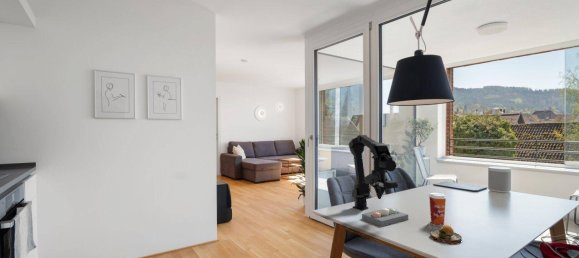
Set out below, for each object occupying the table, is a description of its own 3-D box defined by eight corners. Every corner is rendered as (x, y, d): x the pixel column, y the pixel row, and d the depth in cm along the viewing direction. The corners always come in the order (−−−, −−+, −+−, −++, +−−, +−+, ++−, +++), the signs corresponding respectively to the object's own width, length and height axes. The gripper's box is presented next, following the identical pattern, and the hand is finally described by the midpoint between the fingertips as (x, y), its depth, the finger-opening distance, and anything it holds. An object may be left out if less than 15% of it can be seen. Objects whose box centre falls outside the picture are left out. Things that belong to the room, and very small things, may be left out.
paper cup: (437, 226, 133) (436, 196, 133) (425, 221, 141) (425, 192, 141) (450, 224, 135) (450, 195, 135) (438, 219, 143) (438, 191, 143)
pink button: (370, 219, 142) (370, 212, 142) (376, 218, 144) (376, 211, 144) (376, 222, 138) (376, 215, 138) (382, 220, 140) (382, 213, 140)
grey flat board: (362, 218, 145) (361, 213, 145) (387, 212, 154) (387, 208, 154) (381, 226, 134) (381, 221, 134) (408, 219, 143) (408, 214, 143)
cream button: (379, 215, 145) (379, 208, 145) (384, 214, 147) (384, 207, 147) (385, 217, 141) (385, 210, 141) (390, 216, 143) (390, 209, 143)
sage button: (387, 215, 148) (387, 209, 148) (392, 214, 150) (392, 207, 150) (393, 217, 144) (393, 211, 144) (398, 216, 146) (398, 209, 146)
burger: (452, 233, 125) (452, 216, 125) (468, 244, 113) (468, 226, 113) (424, 233, 125) (424, 216, 125) (437, 244, 114) (437, 226, 114)
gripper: (354, 167, 148) (354, 196, 148) (382, 172, 132) (381, 205, 132) (370, 165, 153) (370, 194, 154) (398, 170, 137) (398, 202, 137)
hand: (379, 198), depth 144 cm, fingers closed
